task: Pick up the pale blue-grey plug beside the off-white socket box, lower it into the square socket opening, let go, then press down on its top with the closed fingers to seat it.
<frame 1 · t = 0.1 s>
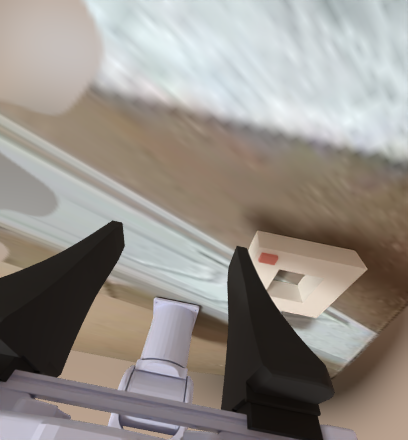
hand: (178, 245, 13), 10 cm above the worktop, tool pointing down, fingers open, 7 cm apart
socket box: (287, 269, 27), on the worktop
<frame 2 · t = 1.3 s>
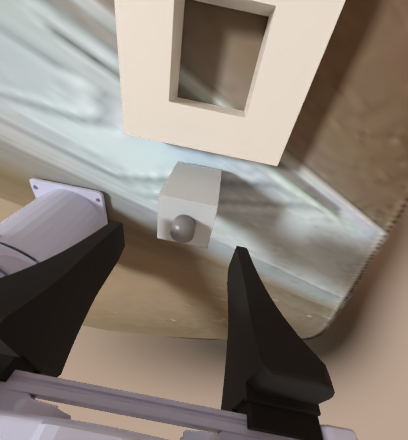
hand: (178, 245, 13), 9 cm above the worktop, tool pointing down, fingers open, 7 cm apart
socket box: (218, 61, 14), on the worktop
plug: (198, 180, 20), on the worktop
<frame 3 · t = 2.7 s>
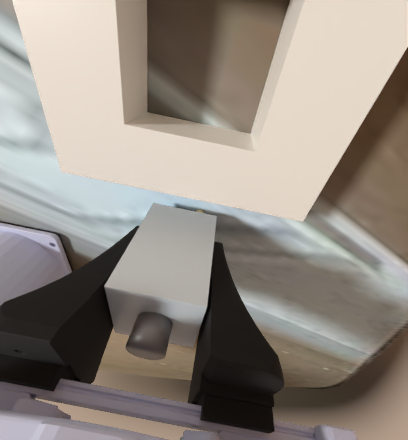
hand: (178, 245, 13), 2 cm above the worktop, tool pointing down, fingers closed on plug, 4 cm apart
socket box: (208, 56, 9), on the worktop
plug: (184, 224, 14), on the worktop, touching gripper
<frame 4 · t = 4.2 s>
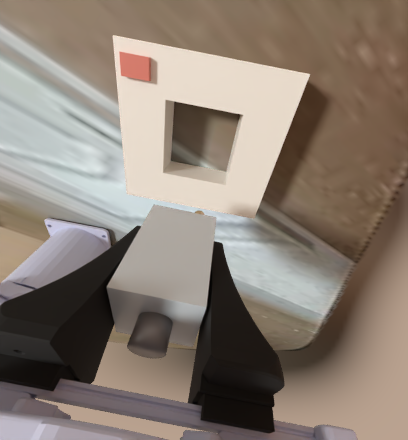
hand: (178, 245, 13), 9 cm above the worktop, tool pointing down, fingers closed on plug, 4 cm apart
socket box: (203, 137, 18), on the worktop
plug: (184, 225, 15), point 7 cm above the worktop, touching gripper
when the fingers open (4 cm above the worktop, at t = 5.9 s): plug drops 1 cm, resting in socket box.
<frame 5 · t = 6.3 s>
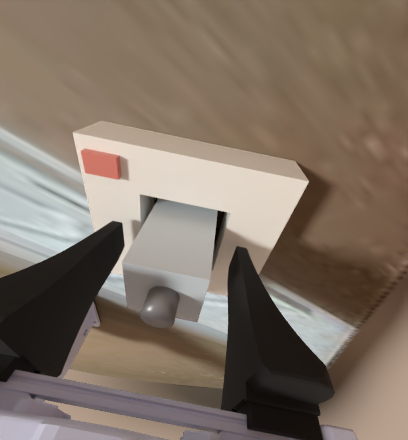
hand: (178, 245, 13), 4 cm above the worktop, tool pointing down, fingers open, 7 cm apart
socket box: (188, 213, 16), on the worktop
plug: (188, 215, 16), resting in socket box
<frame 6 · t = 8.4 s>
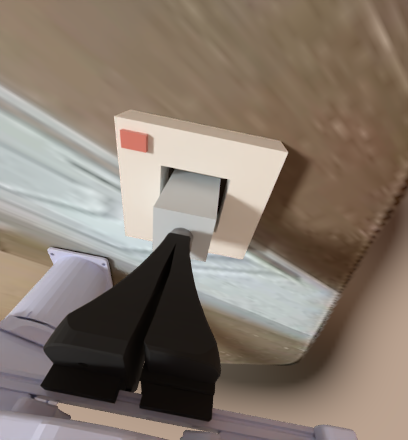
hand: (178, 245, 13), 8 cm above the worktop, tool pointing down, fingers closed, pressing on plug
socket box: (196, 186, 19), on the worktop
plug: (196, 188, 19), resting in socket box, touching gripper
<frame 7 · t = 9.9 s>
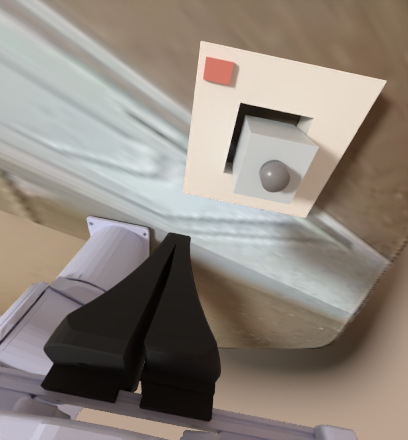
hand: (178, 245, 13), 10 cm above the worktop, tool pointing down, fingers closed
socket box: (260, 138, 18), on the worktop
plug: (259, 141, 18), resting in socket box
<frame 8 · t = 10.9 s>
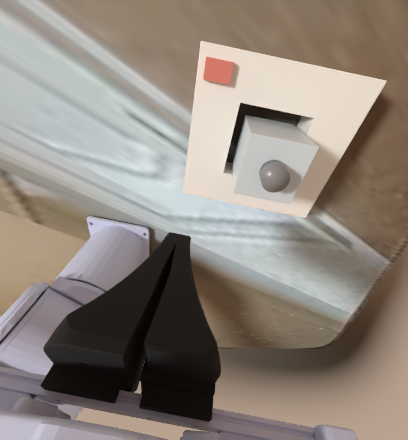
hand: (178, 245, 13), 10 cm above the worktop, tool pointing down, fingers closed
socket box: (260, 138, 18), on the worktop
plug: (259, 141, 18), resting in socket box
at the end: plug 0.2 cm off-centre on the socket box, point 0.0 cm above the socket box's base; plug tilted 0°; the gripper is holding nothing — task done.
